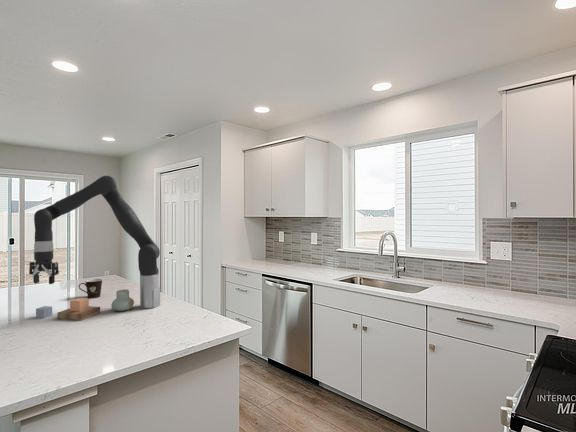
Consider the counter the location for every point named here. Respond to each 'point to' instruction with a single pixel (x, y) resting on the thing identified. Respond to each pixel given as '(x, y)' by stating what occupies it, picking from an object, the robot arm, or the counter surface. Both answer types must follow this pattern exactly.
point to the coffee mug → (93, 288)
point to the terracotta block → (79, 304)
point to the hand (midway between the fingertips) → (43, 283)
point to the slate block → (44, 312)
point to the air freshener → (122, 301)
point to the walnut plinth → (78, 314)
